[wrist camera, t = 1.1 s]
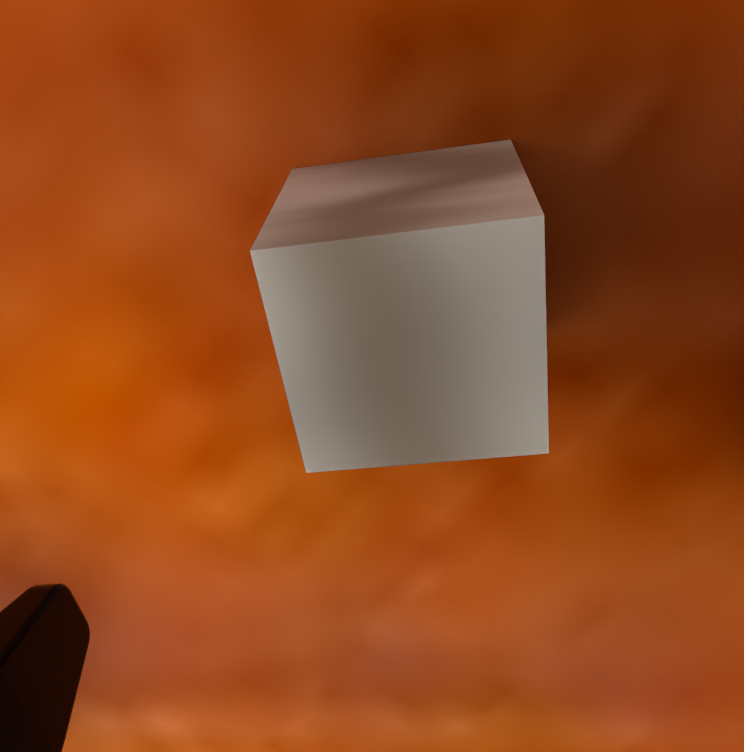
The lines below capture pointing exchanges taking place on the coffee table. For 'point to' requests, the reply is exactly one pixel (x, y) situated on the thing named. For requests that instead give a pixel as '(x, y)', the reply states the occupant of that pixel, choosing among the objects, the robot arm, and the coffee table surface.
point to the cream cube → (409, 308)
